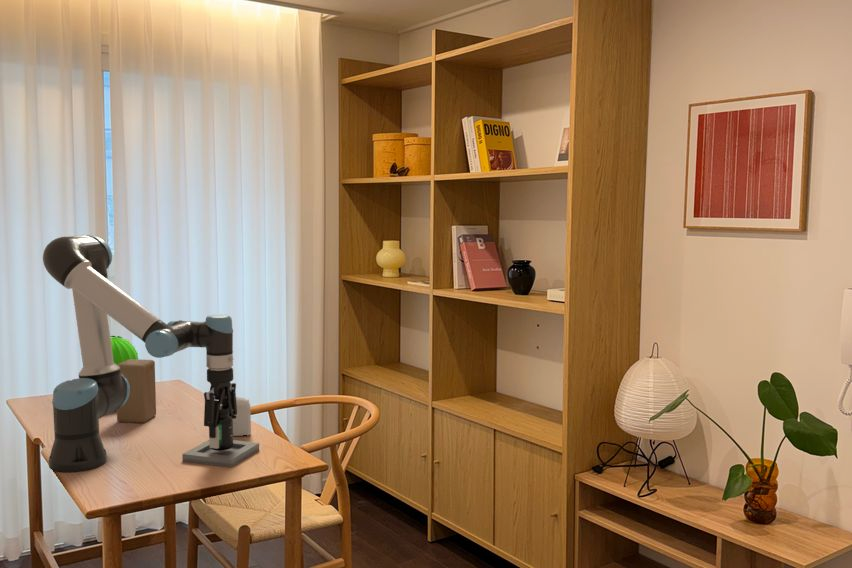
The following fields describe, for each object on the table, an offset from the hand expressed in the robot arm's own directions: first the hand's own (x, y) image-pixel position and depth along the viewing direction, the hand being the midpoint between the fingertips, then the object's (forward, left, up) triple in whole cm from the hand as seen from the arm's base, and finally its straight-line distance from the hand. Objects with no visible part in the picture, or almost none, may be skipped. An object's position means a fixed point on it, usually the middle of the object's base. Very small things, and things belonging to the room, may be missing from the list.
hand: (221, 443), depth 230 cm
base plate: (0, 0, -4) cm, 4 cm away
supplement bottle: (0, 0, -1) cm, 1 cm away
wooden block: (+24, +48, -4) cm, 54 cm away
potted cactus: (+41, +70, -4) cm, 81 cm away
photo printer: (+19, +7, -4) cm, 21 cm away
